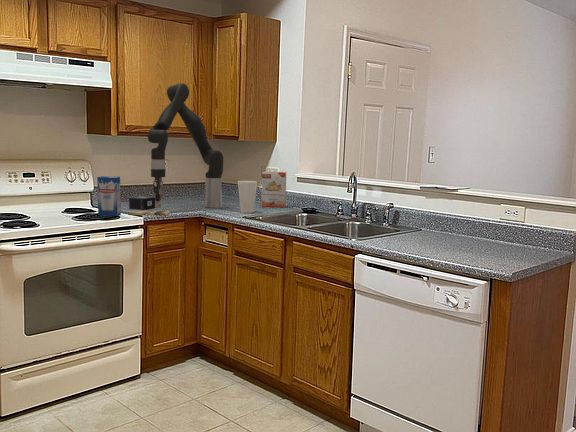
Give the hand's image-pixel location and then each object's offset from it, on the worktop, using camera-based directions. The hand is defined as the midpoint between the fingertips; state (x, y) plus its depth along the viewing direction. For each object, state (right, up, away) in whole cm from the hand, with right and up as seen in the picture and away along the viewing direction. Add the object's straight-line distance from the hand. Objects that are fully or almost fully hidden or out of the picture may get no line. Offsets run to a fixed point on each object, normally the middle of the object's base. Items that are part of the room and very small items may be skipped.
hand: (158, 200), depth 321 cm
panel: (-5, -7, +1) cm, 9 cm away
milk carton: (-24, -8, -7) cm, 26 cm away
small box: (-9, -1, +20) cm, 22 cm away
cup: (+46, -6, +14) cm, 49 cm away
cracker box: (+60, -3, +40) cm, 72 cm away
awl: (0, -4, 0) cm, 4 cm away
